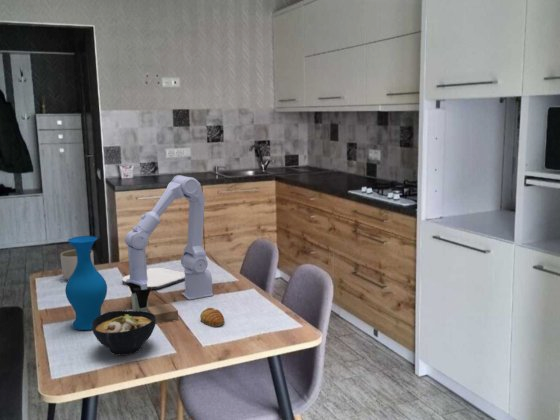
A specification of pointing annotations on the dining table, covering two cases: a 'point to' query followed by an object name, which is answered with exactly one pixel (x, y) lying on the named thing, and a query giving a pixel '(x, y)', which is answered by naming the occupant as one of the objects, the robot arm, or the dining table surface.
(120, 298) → the dining table surface
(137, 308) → the green block
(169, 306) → the base block
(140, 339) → the bowl
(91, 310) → the vase
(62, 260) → the planter
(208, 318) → the pastry
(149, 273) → the plate
